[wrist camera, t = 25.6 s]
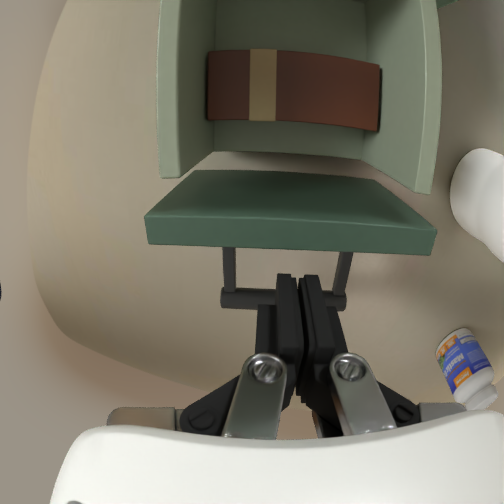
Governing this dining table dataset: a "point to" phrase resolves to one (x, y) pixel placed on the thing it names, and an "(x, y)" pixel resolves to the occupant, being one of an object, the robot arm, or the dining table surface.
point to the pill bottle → (467, 370)
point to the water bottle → (480, 197)
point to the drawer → (297, 135)
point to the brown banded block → (292, 88)
